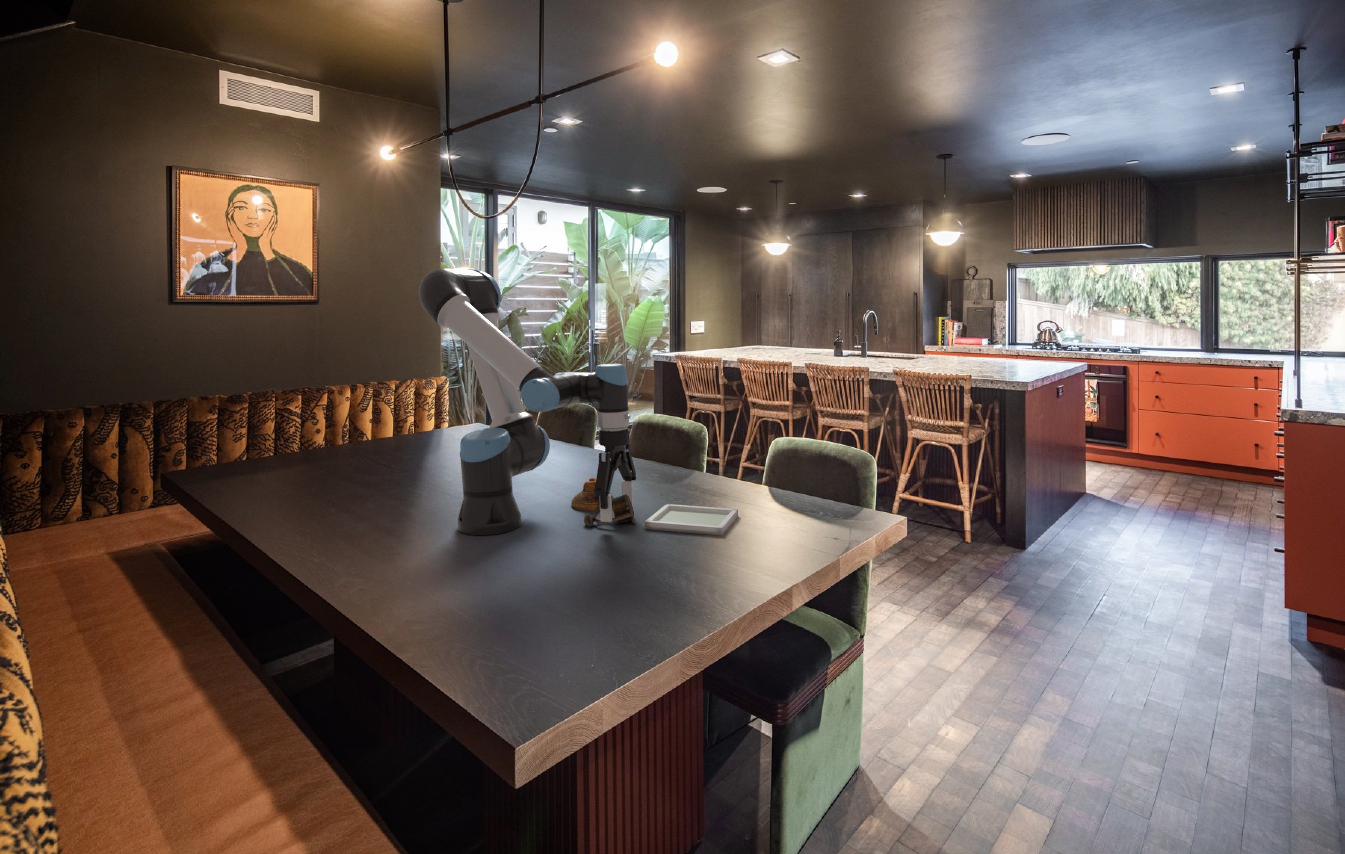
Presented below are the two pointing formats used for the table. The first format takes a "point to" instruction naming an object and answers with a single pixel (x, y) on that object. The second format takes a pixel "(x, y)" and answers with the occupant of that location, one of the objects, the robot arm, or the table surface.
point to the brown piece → (615, 512)
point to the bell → (587, 497)
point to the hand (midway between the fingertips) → (617, 513)
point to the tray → (692, 519)
